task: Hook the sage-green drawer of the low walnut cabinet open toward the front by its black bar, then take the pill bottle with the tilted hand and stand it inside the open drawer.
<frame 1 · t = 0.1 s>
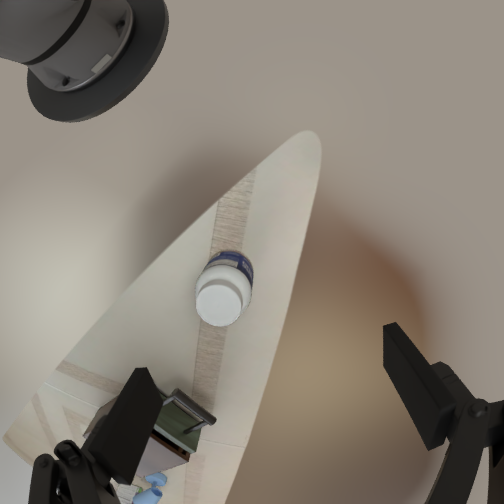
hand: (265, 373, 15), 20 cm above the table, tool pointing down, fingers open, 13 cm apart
pill bottle: (230, 270, 34), on the table
drawer: (158, 424, 37), point 4 cm above the table, slide at 1.0 cm
spotlight: (156, 475, 47), on the table
syrup box: (132, 487, 50), on the table
cabinet: (144, 419, 41), on the table
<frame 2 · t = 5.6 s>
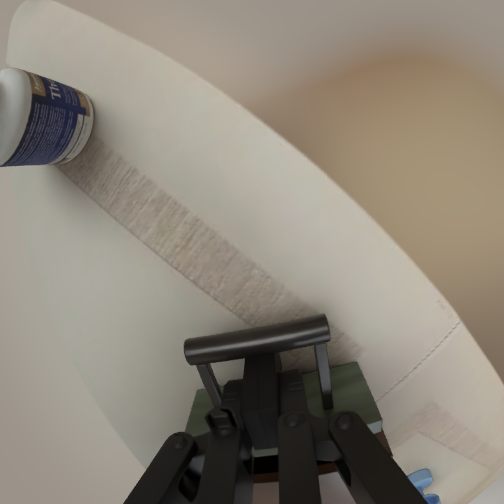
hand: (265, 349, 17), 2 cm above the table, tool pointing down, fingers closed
pill bottle: (67, 126, 16), on the table
drawer: (285, 437, 17), point 4 cm above the table, slide at 1.8 cm, touching gripper
spotlight: (413, 479, 24), on the table
cabinet: (295, 448, 22), on the table
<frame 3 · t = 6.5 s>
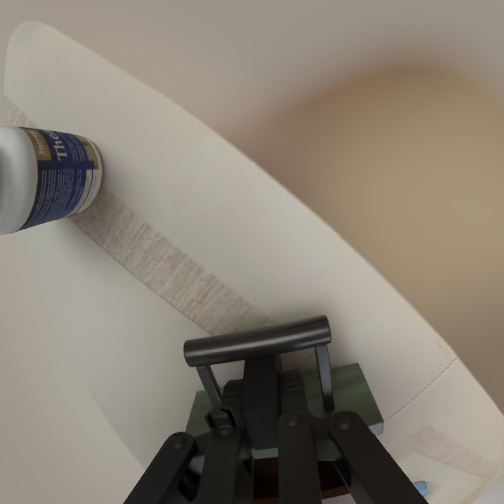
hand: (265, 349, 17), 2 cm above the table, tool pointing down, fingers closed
pill bottle: (74, 174, 17), on the table
drawer: (285, 439, 16), point 4 cm above the table, slide at 5.4 cm, touching gripper
spotlight: (410, 490, 25), on the table
cabinet: (300, 467, 22), on the table
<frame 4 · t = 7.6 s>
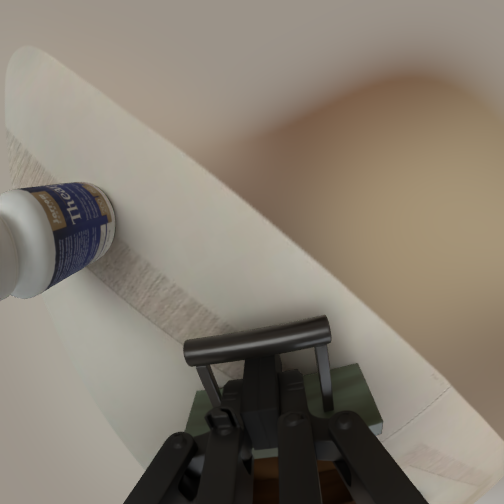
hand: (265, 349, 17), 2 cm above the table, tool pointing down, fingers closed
pill bottle: (86, 221, 17), on the table
drawer: (285, 439, 16), point 4 cm above the table, slide at 8.8 cm, touching gripper
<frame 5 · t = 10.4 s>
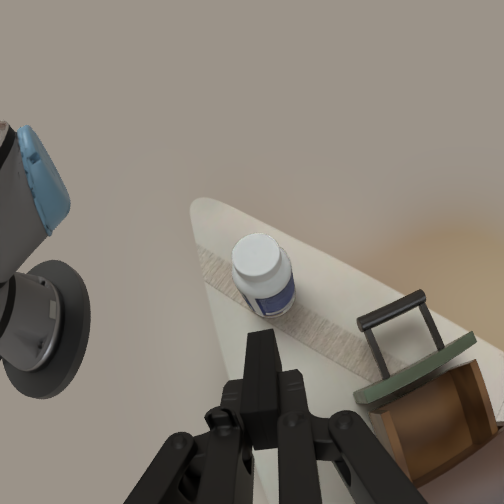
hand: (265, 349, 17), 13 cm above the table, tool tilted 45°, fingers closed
pill bottle: (271, 296, 32), on the table
drawer: (424, 394, 20), point 4 cm above the table, slide at 9.0 cm
cabinet: (441, 497, 17), on the table
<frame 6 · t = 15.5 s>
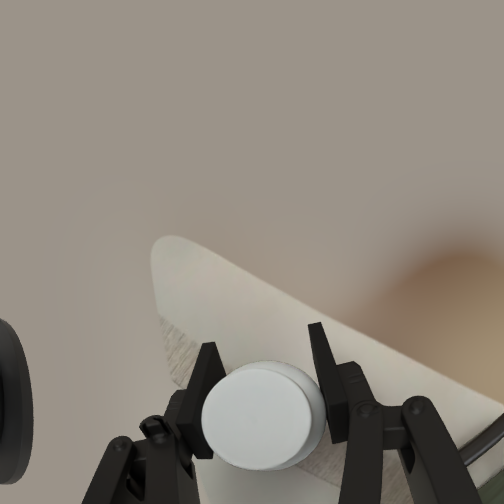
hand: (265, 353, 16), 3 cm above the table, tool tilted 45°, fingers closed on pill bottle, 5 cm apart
pill bottle: (280, 412, 17), on the table, touching gripper
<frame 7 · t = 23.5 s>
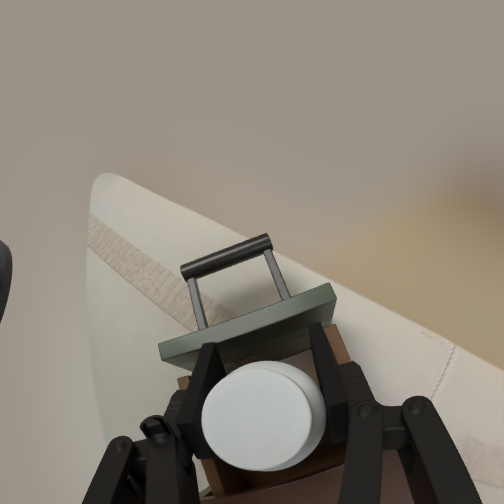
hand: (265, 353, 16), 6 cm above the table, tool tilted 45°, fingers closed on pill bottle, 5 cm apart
pill bottle: (280, 412, 17), point 3 cm above the table, touching gripper
drawer: (264, 370, 18), point 4 cm above the table, slide at 9.0 cm
when the fingers open (6 cm above the table, at t = 25.0 s): pill bottle stays where it is, resting on drawer.
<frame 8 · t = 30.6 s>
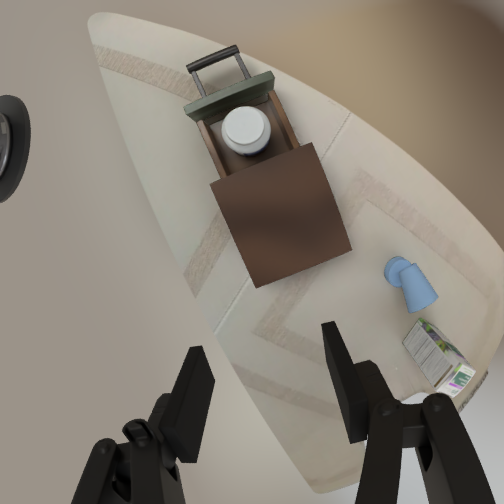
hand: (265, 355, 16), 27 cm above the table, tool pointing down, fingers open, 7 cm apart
pill bottle: (249, 137, 37), point 2 cm above the table, touching drawer
drawer: (238, 114, 34), point 4 cm above the table, slide at 9.0 cm, touching pill bottle
spotlight: (397, 272, 43), on the table
syrup box: (419, 334, 45), on the table
cabinet: (280, 209, 41), on the table
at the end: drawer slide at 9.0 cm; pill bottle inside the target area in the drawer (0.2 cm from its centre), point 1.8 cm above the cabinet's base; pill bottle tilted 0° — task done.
